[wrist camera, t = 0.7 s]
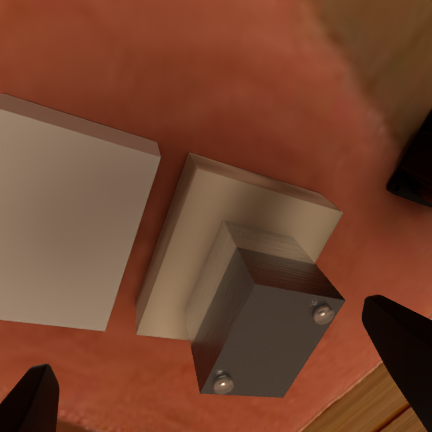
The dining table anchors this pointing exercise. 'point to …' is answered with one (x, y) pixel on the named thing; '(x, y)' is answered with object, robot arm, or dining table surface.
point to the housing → (256, 312)
